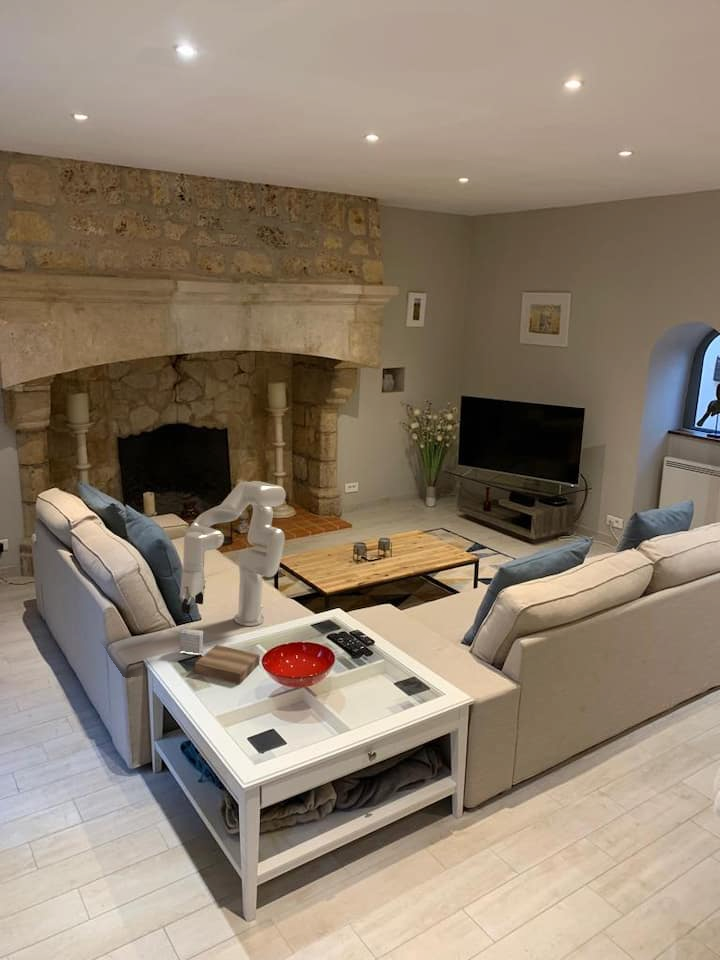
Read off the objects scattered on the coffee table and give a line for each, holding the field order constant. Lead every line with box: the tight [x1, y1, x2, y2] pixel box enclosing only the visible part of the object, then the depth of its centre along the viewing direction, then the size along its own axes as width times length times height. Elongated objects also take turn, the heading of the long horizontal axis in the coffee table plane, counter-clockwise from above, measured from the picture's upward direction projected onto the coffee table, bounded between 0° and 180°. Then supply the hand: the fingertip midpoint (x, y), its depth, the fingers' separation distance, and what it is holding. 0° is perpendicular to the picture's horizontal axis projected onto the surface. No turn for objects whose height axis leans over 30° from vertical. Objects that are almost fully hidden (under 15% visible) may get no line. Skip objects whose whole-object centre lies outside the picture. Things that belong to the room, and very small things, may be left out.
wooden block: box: [194, 644, 260, 685], centre depth 266 cm, size 16×18×4 cm
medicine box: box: [179, 628, 204, 653], centre depth 275 cm, size 8×4×9 cm, turn 84°
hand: (192, 608), depth 272 cm, fingers open, 9 cm apart
